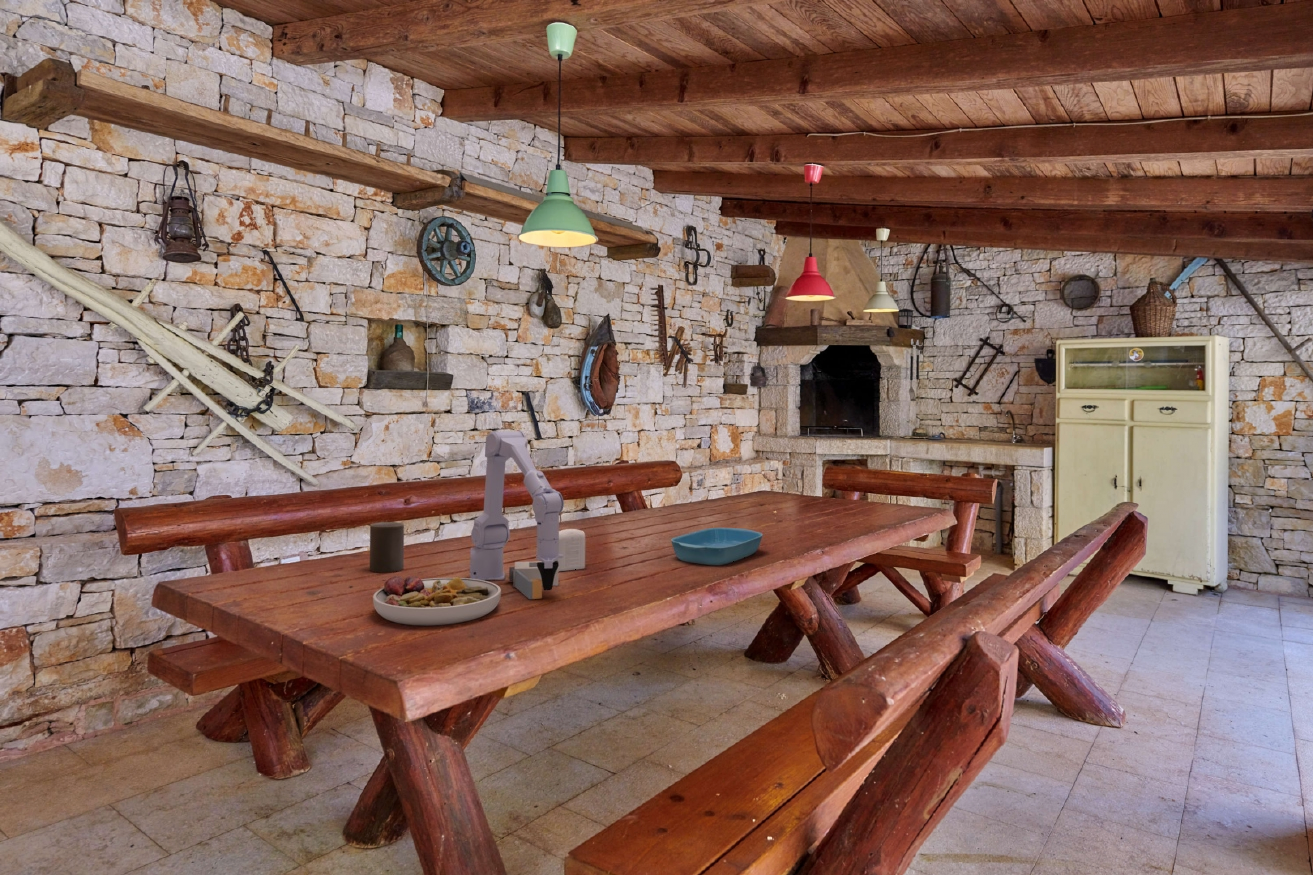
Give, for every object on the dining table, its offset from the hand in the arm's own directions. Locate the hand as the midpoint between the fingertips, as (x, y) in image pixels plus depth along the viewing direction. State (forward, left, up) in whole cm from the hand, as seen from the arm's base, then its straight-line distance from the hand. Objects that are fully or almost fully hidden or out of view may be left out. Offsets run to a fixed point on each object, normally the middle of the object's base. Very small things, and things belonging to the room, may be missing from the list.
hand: (547, 589), depth 207 cm
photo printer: (+7, +32, -2) cm, 33 cm away
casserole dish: (+57, +47, -2) cm, 74 cm away
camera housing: (-3, +17, -2) cm, 17 cm away
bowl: (-27, -10, -2) cm, 29 cm away
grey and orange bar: (-5, +5, -2) cm, 7 cm away
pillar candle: (-47, +38, -2) cm, 60 cm away
